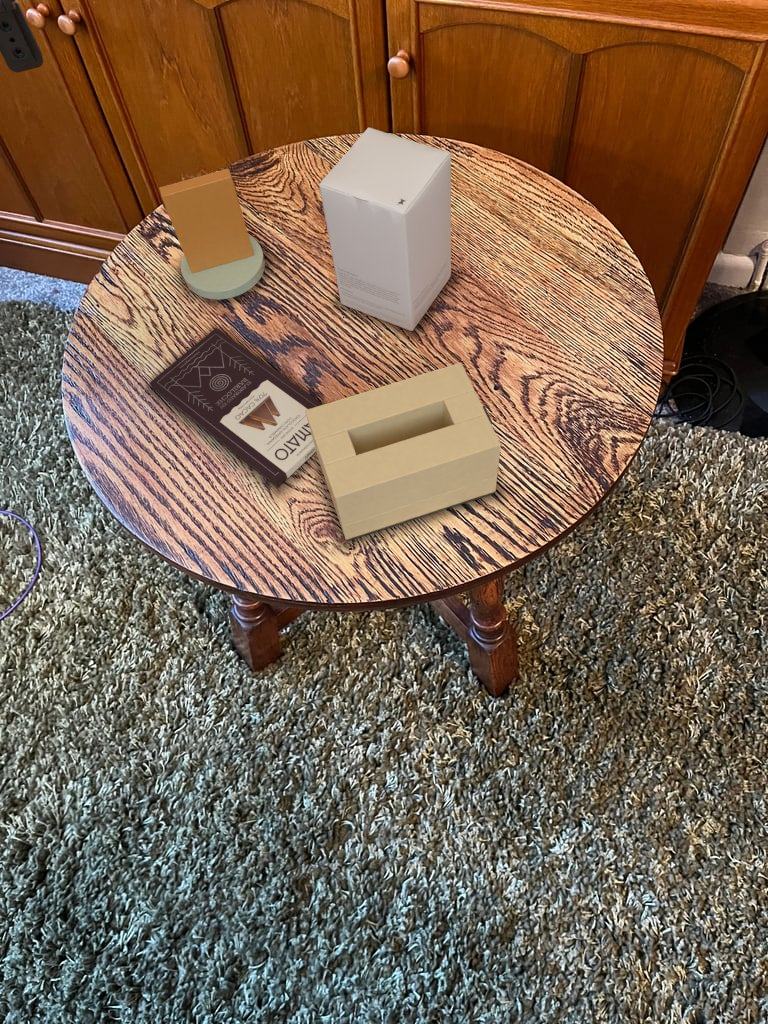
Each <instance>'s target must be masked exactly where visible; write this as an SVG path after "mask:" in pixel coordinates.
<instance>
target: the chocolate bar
mask: <svg viewBox="0 0 768 1024" xmlns="http://www.w3.org/2000/svg"><path fill="white" fill-rule="evenodd" d="M149 385H150V387H151V389H152V390H153V391H155V393H157V394H158V395H159V396H161V397H162V398H163V399H164V400H166V401H167V402H168V403H170V404H171V405H172V406H173V407H175V409H177V410H178V411H179V412H181V413H182V414H183V415H185V416H186V417H187V418H189V419H190V420H192V422H193V423H195V424H196V425H197V426H199V427H200V429H202V430H204V431H205V432H206V433H207V434H208V435H210V436H212V438H213V439H215V440H216V441H217V442H219V443H220V444H221V445H223V447H225V448H226V449H228V450H229V452H231V453H233V454H234V455H235V456H237V457H238V458H239V459H240V460H242V461H243V463H245V464H246V465H247V466H249V467H250V468H251V469H252V470H254V471H256V472H257V474H259V475H260V476H261V477H262V478H264V479H265V480H267V481H268V482H269V483H271V484H272V485H273V486H274V487H275V488H276V489H278V488H279V487H280V486H282V484H283V483H285V482H286V481H287V480H288V479H289V478H290V477H291V476H292V475H293V474H294V473H295V472H296V471H297V470H298V469H299V468H300V467H301V466H302V465H304V464H305V463H306V462H307V461H308V460H309V459H310V458H311V457H312V456H313V455H314V454H315V453H316V449H315V445H314V442H313V438H312V435H311V431H310V427H309V424H308V420H307V416H306V413H305V410H308V409H311V408H314V407H317V406H321V405H324V404H323V403H322V402H321V401H319V400H318V399H316V398H315V397H313V396H312V395H311V394H310V393H308V392H306V391H305V390H303V388H301V387H300V386H298V385H297V384H295V383H293V381H291V380H290V379H288V378H287V377H285V376H284V375H283V374H281V373H280V372H278V371H277V370H276V369H274V367H272V366H270V365H268V363H266V362H265V361H263V359H260V358H259V357H258V356H256V355H255V354H253V353H252V352H251V351H249V350H248V349H246V348H245V347H244V346H242V345H241V344H239V342H236V341H235V340H234V339H232V338H231V337H230V336H228V335H226V334H225V333H224V332H223V331H221V330H220V329H218V328H217V327H215V328H214V329H211V331H210V332H209V333H207V335H205V336H204V337H202V338H201V339H200V340H199V341H198V342H197V343H195V344H194V345H193V346H192V347H190V349H187V351H186V352H185V353H183V354H182V355H181V356H180V357H179V358H177V359H176V360H175V361H174V362H173V363H171V364H170V365H169V366H168V367H167V368H165V369H164V370H163V371H162V372H161V373H159V374H158V375H157V376H156V377H154V378H153V379H152V380H150V382H149Z"/></svg>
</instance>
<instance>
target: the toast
mask: <svg viewBox="0 0 768 1024" xmlns="http://www.w3.org/2000/svg"><path fill="white" fill-rule="evenodd" d="M158 189H159V193H160V196H161V199H162V202H163V204H164V208H165V210H166V212H167V215H168V217H169V220H170V222H171V225H172V228H173V230H174V233H175V235H176V238H177V240H178V243H179V246H180V247H181V250H182V253H183V256H184V255H185V258H186V261H187V263H188V266H189V268H190V271H191V273H195V272H199V271H202V270H206V269H209V268H213V267H216V266H219V265H223V264H226V263H230V262H233V261H237V260H240V259H244V258H247V257H251V256H254V253H253V249H252V246H251V242H250V239H249V236H250V235H249V232H248V228H247V225H246V222H245V218H244V214H243V211H242V208H241V205H240V200H239V196H238V194H237V191H236V187H235V183H234V180H233V176H232V174H231V171H230V169H229V168H225V169H221V170H217V171H213V172H210V173H207V174H202V175H199V176H196V177H193V178H187V179H185V180H181V181H178V182H175V183H170V184H166V185H164V186H160V187H159V188H158Z"/></svg>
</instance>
